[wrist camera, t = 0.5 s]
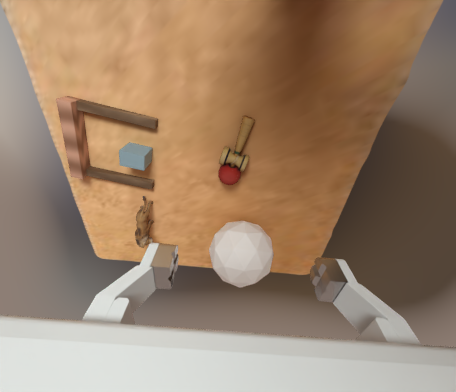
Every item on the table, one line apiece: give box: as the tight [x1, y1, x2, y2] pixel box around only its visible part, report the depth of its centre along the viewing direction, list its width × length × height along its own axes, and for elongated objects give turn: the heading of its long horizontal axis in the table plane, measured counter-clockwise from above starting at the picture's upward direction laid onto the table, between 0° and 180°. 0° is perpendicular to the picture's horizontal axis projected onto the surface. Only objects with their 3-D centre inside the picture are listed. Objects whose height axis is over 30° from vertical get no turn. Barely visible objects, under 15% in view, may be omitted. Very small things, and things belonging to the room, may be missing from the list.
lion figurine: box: [135, 196, 154, 248], centre depth 65 cm, size 15×5×9 cm, turn 178°
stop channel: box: [56, 96, 158, 189], centre depth 54 cm, size 20×21×4 cm
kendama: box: [219, 116, 255, 185], centre depth 54 cm, size 8×6×18 cm
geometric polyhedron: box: [209, 221, 274, 288], centre depth 64 cm, size 19×20×20 cm
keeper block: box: [119, 142, 152, 171], centre depth 54 cm, size 4×6×6 cm, turn 76°
